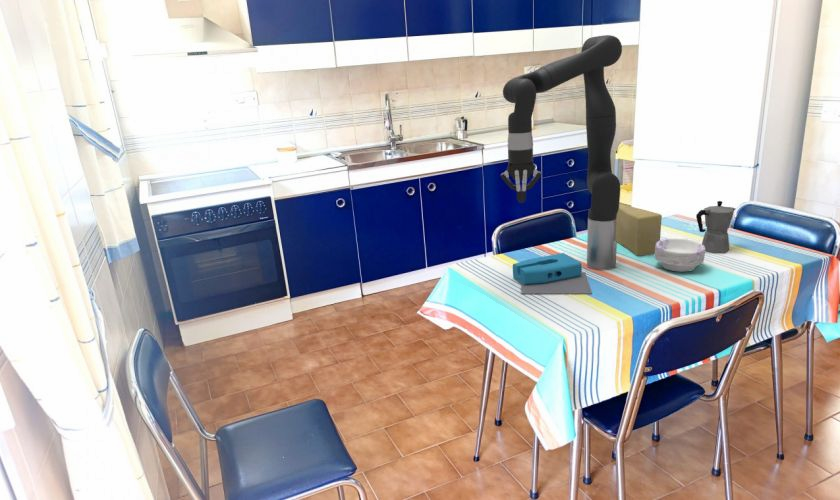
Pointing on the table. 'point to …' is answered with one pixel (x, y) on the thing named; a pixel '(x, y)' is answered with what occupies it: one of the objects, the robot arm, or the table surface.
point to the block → (547, 269)
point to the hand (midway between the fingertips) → (521, 202)
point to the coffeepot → (716, 227)
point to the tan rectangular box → (638, 229)
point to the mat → (560, 286)
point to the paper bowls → (679, 254)
